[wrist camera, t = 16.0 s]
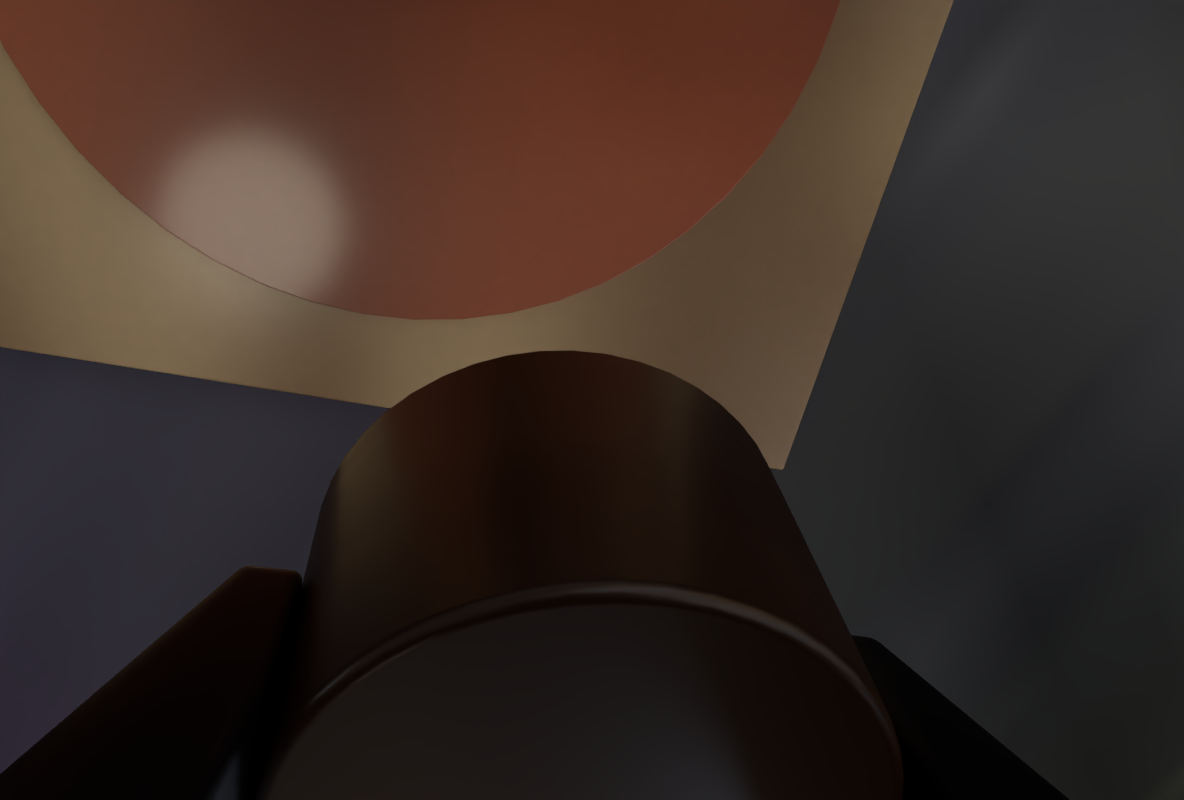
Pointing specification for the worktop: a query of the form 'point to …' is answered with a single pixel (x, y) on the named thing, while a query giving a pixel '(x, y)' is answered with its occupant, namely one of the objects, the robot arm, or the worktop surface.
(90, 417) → the worktop surface
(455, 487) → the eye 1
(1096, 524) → the worktop surface
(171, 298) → the face board
